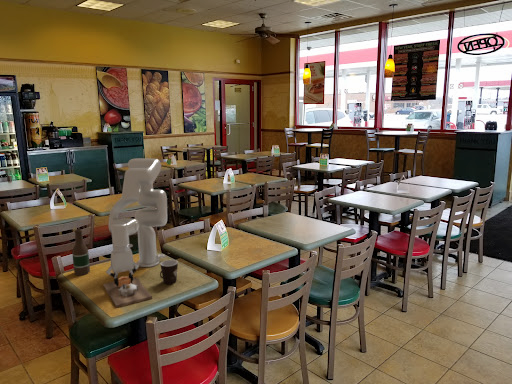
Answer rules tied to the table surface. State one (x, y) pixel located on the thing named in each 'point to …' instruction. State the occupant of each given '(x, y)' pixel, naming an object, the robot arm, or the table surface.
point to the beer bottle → (80, 255)
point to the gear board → (127, 293)
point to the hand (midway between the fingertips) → (124, 283)
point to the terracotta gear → (124, 280)
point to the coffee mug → (169, 271)
